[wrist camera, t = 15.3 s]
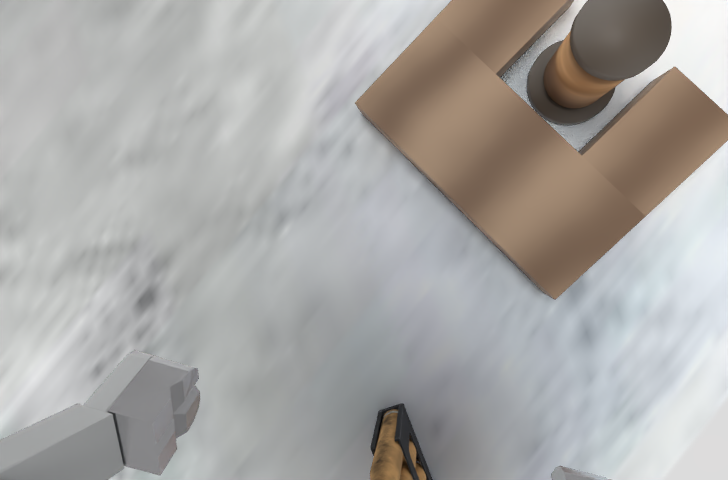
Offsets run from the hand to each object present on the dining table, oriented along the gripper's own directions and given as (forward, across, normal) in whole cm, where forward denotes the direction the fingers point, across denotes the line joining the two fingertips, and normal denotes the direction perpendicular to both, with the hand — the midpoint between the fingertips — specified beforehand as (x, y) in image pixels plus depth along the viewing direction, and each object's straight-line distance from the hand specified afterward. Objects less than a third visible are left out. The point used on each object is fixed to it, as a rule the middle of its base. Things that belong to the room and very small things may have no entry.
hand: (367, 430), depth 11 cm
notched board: (+26, -6, 0) cm, 26 cm away
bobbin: (+27, -7, -2) cm, 28 cm away
